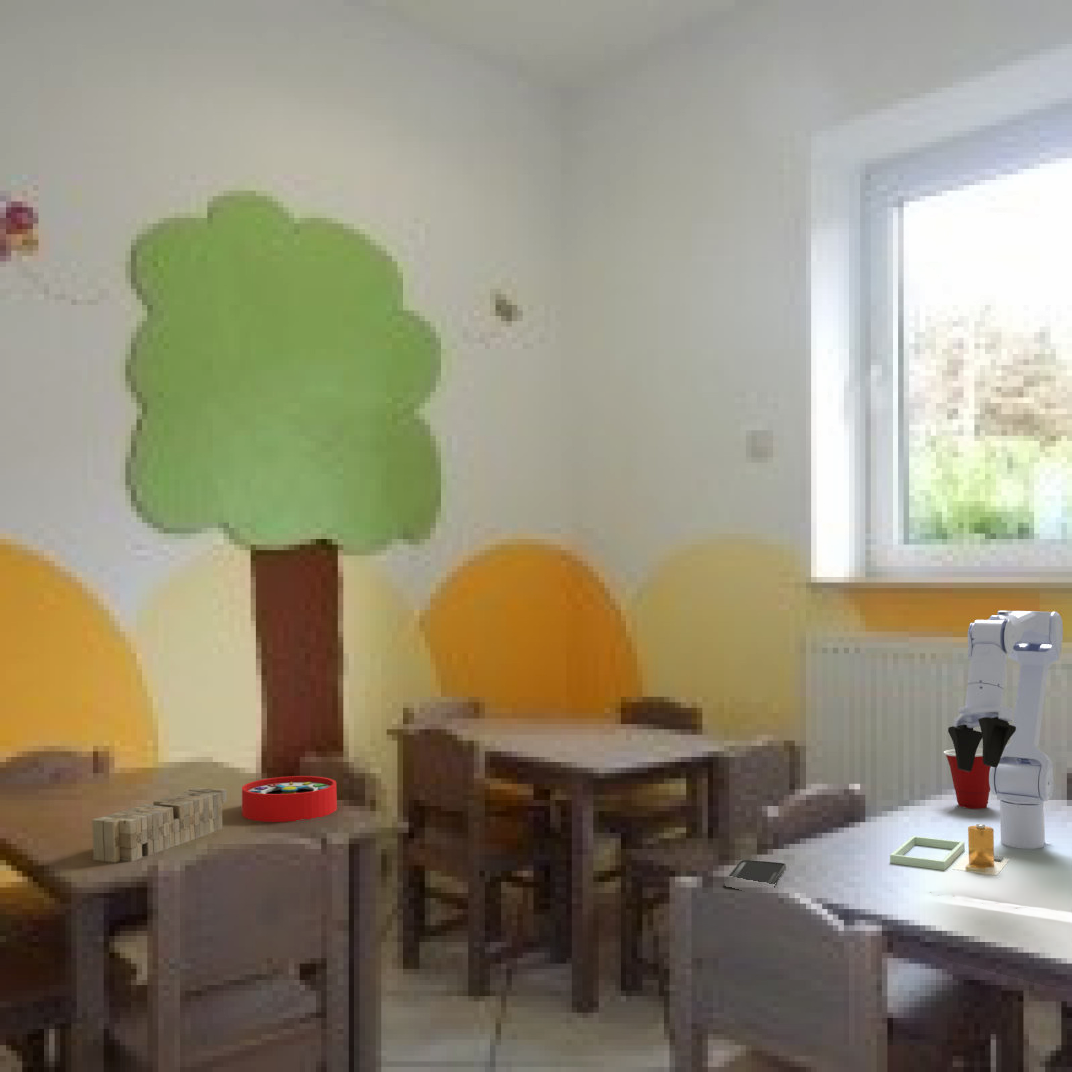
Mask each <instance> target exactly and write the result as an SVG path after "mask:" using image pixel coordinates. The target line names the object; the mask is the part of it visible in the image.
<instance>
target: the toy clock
mask: <svg viewBox="0 0 1072 1072" xmlns="http://www.w3.org/2000/svg"><path fill="white" fill-rule="evenodd" d="M337 792H338V791H337V781H336V780H335V779H333V778H329V777H325V776H314V775H313V776H312V775H296V776H295V775H292V776H280V777H279V776H278V777H271V778H270V777H269V778H264V779H259V780H254V781H251V782H248V783H246V784H243V786H242V787H241V816H242V817H243V818H246V819H247V820H250V821H258V822H266V823H267V822H268V823H269V822H270V823H287V821H289V822H297V821H296V820H301V819H308V820H312V819H311V818H314V819H317V818H316V817H319V818H322V817H326V816H329V815H331V813H332V814H334V813H335V812H336V811H337V809H338V803H337V802H338V801H337V800H338V799H337V797H338V796H337ZM334 811H335V812H334ZM333 812H334V813H333ZM325 815H326V816H325ZM301 821H302V820H301Z"/></svg>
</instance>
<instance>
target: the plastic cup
mask: <svg viewBox="0 0 1072 1072" xmlns="http://www.w3.org/2000/svg"><path fill="white" fill-rule="evenodd" d="M943 754H944V755H945V756H946V757H945V758H946V759H947V761H948V765H949V768H950V769H949V770H950V773H951V778H952V783H953V788H954V791H955V796H956V803H957V805H958V807H960V808H963V807H965V808H964V809H971V810H972V809H973V810H976V809H977V810H978V809H980V810H981V809H982V808H983V809H987V807H988V803H989V799H990V798H989V797H990V792H991V789H990V785H989V772H990V768H991V766H987V765H984V764H983V747H982V748H981V747H979V748H977V750H976V754H975V759H974V764H973V767H972V770H971V772H967V771H963V770H960V769H958V767H957V760H956V753H955V748H952V749H947V750H944V751H943Z"/></svg>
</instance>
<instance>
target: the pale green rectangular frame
mask: <svg viewBox="0 0 1072 1072" xmlns="http://www.w3.org/2000/svg"><path fill="white" fill-rule="evenodd" d="M915 845H917V846H925V847H933V848H940V849H948V850H949V849H950V850H951V851H950V852H949V853H948V854H947V855H946V856H945V857H944V858H942V860H939V859H933V858H926V857H917V856H909V855H905V854H906V853H907V852H908V851H910V850H911V849H912V848H913V847H914V846H915ZM963 852H965V841H958V840H952V839H949V840H948V839H942V838H936V837H935V838H932V837H925V836H917V835H916V836H915V835H912V836H910V838H908V839H907V840H906V841H905V842H903V844H901V845H900V846H899V847H897V848H896V849H895V850H894V851H893V852H892V853H891V854H889V863H891V864H894V865H895V864H896V865H897V864H898V865H904V866H910V867H911V866H912V867H919V868H926V869H933V870H941V871H942V870H943V871H946V870H947V868H948V867H949V866H950V865H951V864H952V863H954V862H955V860H956V859H958V858H959V857H960V855H962V853H963Z"/></svg>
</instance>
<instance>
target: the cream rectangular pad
mask: <svg viewBox="0 0 1072 1072" xmlns="http://www.w3.org/2000/svg"><path fill="white" fill-rule="evenodd" d="M1009 861H1010V859H1009V858H1004V856H1003V855H995V854H994V866H993V867H985V866H977V865H970V864H969V853H966V854H965V855H964V856H963V857H962V858H961V859H960V861H959V862H958V863H957V864H956V865H955V866H954V867H953V868H952V870H954V871H962V872H963V871H964V872H970V873H978V874H985V875H992V876H998V875H999V874H1000V872H1001V871H1002V870H1003V869H1004V868H1005V866H1006V865H1007V863H1009Z"/></svg>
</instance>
